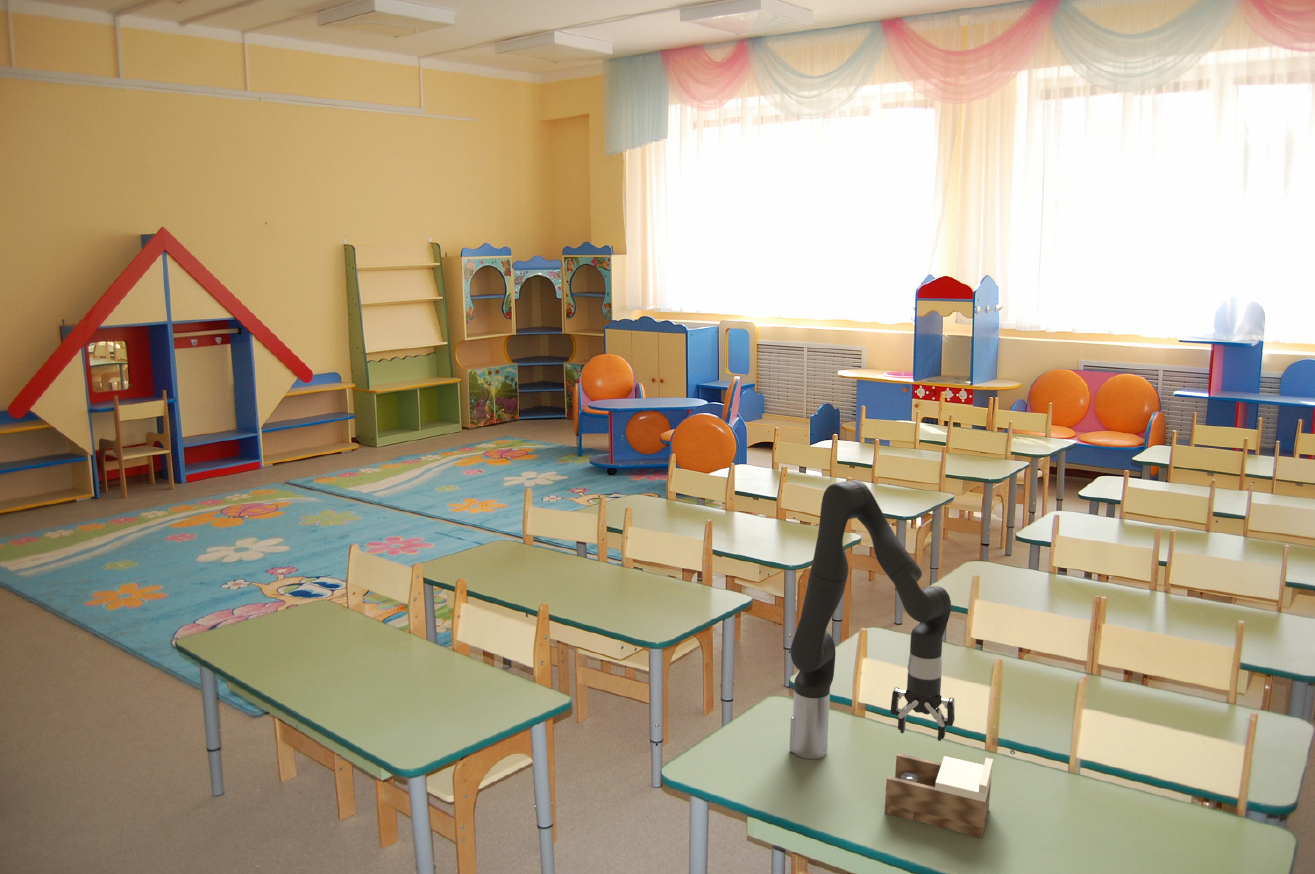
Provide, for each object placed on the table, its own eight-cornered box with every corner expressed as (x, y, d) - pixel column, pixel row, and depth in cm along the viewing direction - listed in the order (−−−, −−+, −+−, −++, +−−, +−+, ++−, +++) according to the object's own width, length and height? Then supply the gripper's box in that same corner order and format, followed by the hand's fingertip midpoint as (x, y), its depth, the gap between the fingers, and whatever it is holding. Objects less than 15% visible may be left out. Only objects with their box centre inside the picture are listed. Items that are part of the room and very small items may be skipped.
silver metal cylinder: (901, 797, 232) (902, 771, 230) (917, 801, 230) (919, 775, 228) (897, 806, 228) (899, 779, 227) (914, 810, 226) (916, 783, 225)
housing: (884, 813, 225) (886, 778, 223) (895, 786, 236) (897, 753, 234) (982, 837, 216) (985, 802, 214) (988, 808, 227) (991, 774, 225)
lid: (934, 790, 219) (936, 774, 218) (943, 763, 230) (944, 748, 229) (985, 802, 214) (986, 786, 213) (991, 774, 225) (993, 759, 224)
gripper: (959, 670, 221) (954, 734, 225) (896, 659, 227) (893, 722, 231) (954, 683, 215) (949, 749, 218) (890, 671, 221) (887, 736, 224)
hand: (921, 735), depth 224 cm, fingers open, 8 cm apart
